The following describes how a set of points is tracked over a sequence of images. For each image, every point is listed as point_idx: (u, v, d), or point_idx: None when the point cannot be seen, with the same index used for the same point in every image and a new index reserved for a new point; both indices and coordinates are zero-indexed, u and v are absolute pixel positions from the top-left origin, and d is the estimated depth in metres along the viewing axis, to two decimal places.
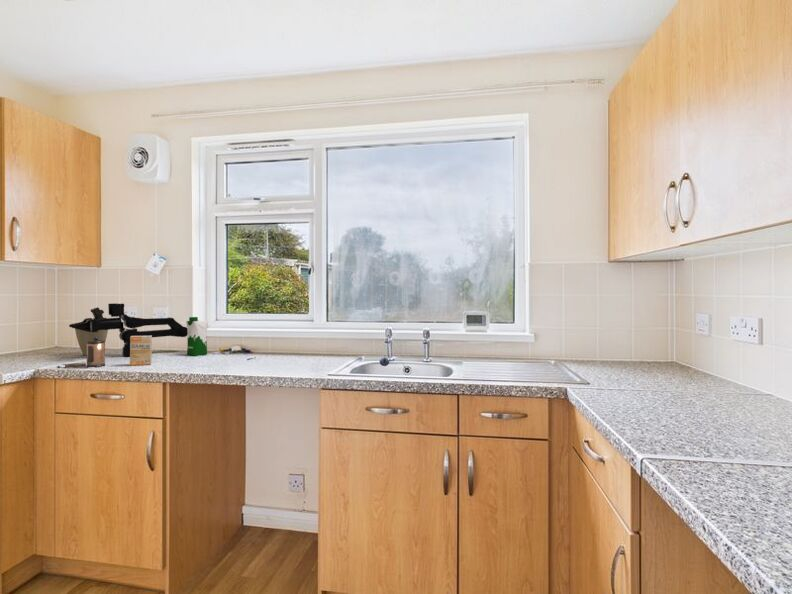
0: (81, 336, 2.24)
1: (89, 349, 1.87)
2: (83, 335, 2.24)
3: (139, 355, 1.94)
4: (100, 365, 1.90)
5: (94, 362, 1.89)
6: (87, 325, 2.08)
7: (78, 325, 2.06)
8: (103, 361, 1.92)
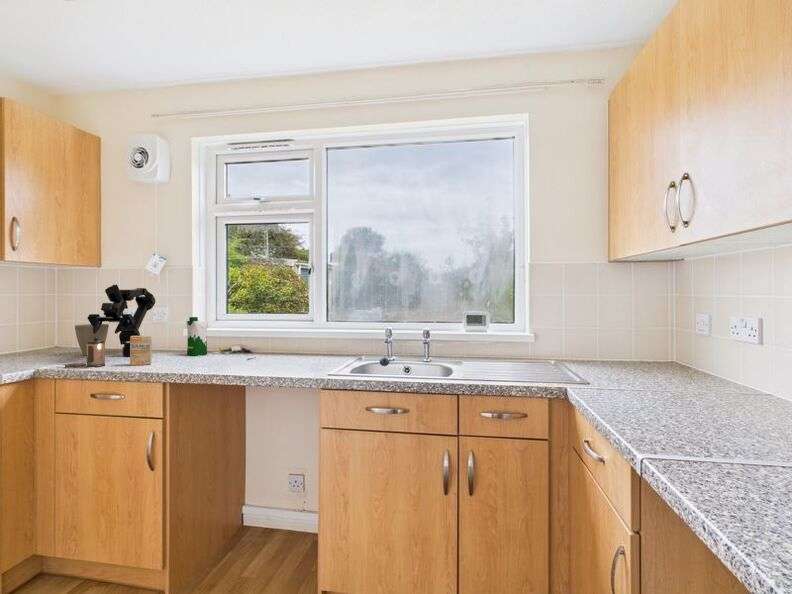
0: (81, 336, 2.24)
1: (89, 349, 1.87)
2: (83, 335, 2.24)
3: (139, 355, 1.94)
4: (100, 365, 1.90)
5: (94, 362, 1.89)
6: (122, 323, 2.05)
7: (119, 328, 2.02)
8: (103, 361, 1.92)
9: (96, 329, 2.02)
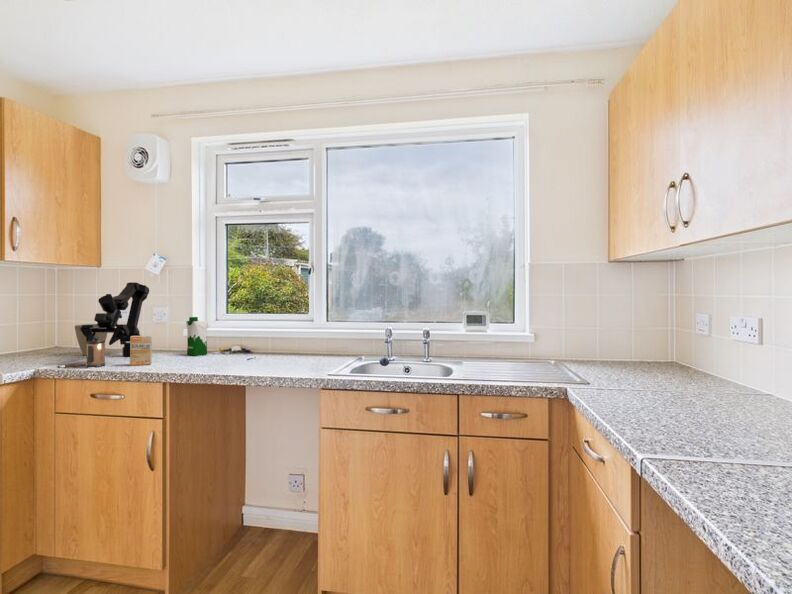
0: (81, 336, 2.24)
1: (89, 349, 1.87)
2: (83, 335, 2.24)
3: (139, 355, 1.94)
4: (100, 365, 1.90)
5: (94, 362, 1.89)
6: (117, 334, 1.99)
7: (113, 339, 1.96)
8: (103, 361, 1.92)
9: (89, 340, 1.95)
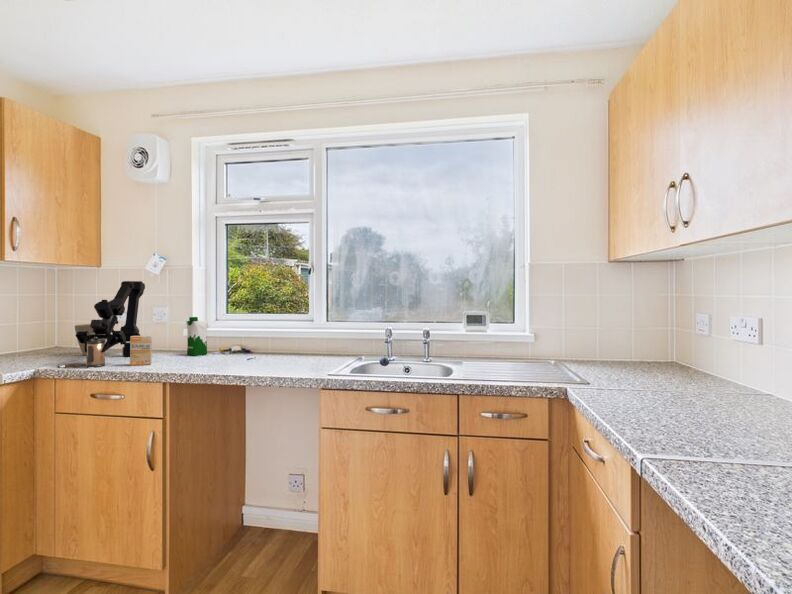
0: None
1: (89, 349, 1.87)
2: None
3: (139, 355, 1.94)
4: (100, 365, 1.90)
5: (94, 362, 1.89)
6: (110, 340, 1.95)
7: (106, 346, 1.92)
8: (103, 361, 1.92)
9: None
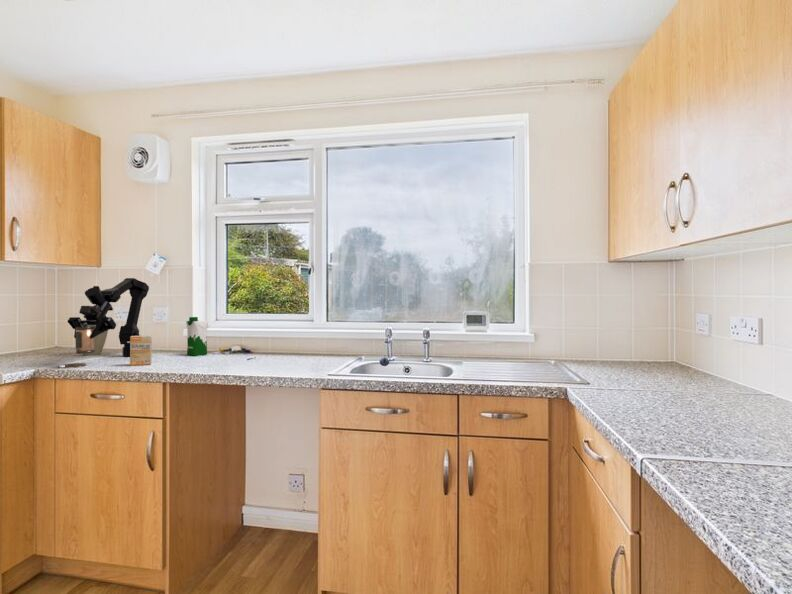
0: None
1: (76, 335, 1.87)
2: None
3: (139, 355, 1.94)
4: (88, 351, 1.90)
5: (82, 348, 1.89)
6: (100, 327, 1.94)
7: (95, 332, 1.92)
8: (92, 347, 1.91)
9: None
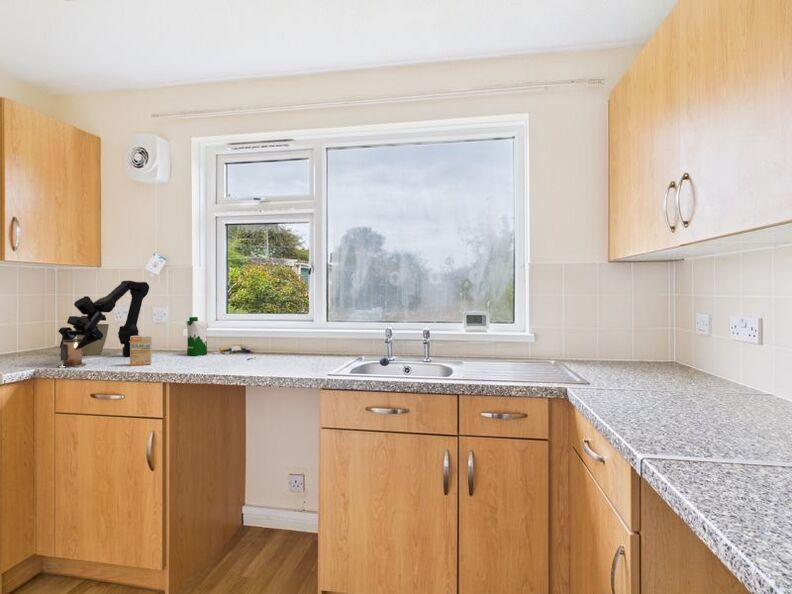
0: (81, 336, 2.24)
1: (61, 347, 1.88)
2: None
3: (139, 355, 1.94)
4: (74, 364, 1.90)
5: (67, 361, 1.89)
6: (88, 337, 1.94)
7: (82, 343, 1.92)
8: (78, 360, 1.92)
9: None
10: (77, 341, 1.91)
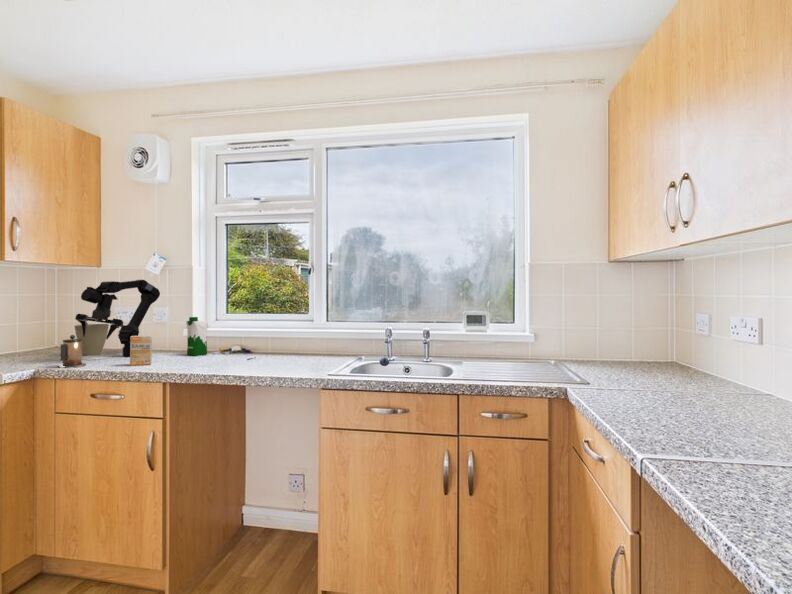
0: (81, 336, 2.24)
1: (61, 347, 1.88)
2: None
3: (139, 355, 1.94)
4: (74, 364, 1.90)
5: (67, 361, 1.89)
6: None
7: (110, 334, 2.09)
8: (78, 360, 1.92)
9: (85, 331, 2.06)
10: (77, 341, 1.91)
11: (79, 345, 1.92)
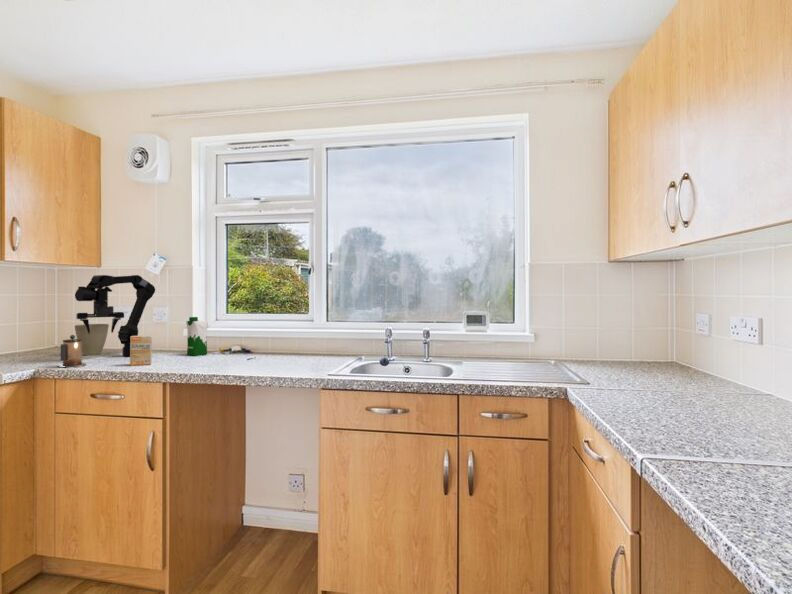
0: (81, 336, 2.24)
1: (61, 347, 1.88)
2: (83, 335, 2.24)
3: (139, 355, 1.94)
4: (74, 364, 1.90)
5: (67, 361, 1.89)
6: None
7: (114, 327, 2.14)
8: (78, 360, 1.92)
9: None
10: (77, 341, 1.91)
11: (79, 345, 1.92)
